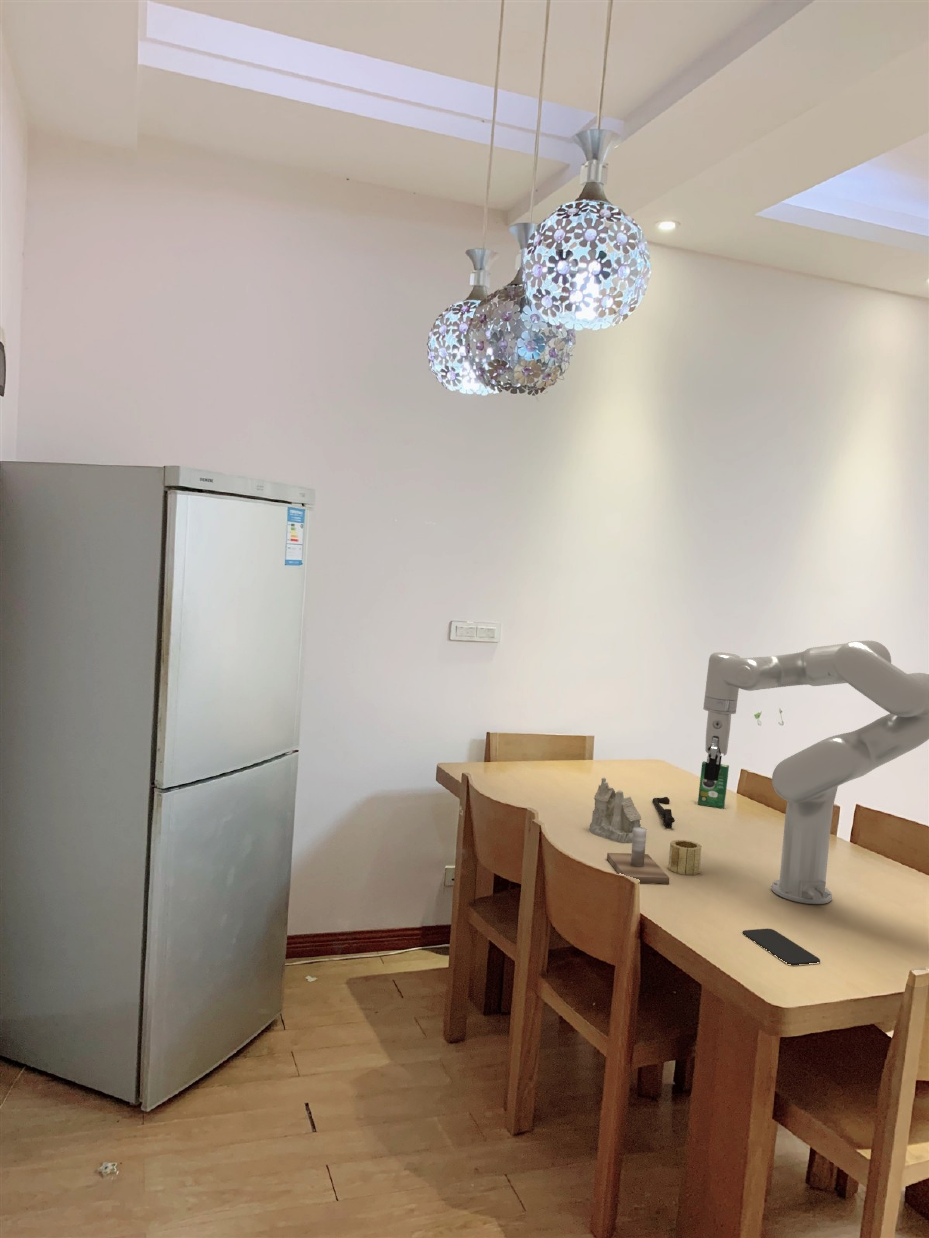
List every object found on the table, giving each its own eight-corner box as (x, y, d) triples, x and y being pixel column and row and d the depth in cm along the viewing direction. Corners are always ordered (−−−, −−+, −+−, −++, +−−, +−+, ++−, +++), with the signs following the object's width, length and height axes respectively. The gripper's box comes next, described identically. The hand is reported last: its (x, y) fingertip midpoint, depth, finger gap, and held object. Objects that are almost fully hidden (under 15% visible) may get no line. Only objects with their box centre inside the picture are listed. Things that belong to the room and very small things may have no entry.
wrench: (669, 809, 272) (684, 831, 242) (652, 809, 273) (665, 830, 243) (669, 792, 272) (684, 811, 242) (652, 791, 273) (665, 811, 243)
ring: (703, 875, 208) (705, 849, 208) (674, 874, 207) (676, 848, 207) (693, 864, 215) (695, 840, 214) (664, 863, 214) (666, 839, 214)
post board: (668, 884, 200) (672, 840, 200) (625, 882, 199) (628, 838, 199) (647, 860, 216) (650, 819, 216) (606, 858, 215) (610, 817, 215)
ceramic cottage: (619, 844, 227) (625, 785, 227) (577, 828, 240) (582, 773, 240) (663, 841, 235) (668, 784, 236) (619, 826, 249) (624, 772, 249)
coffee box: (726, 807, 271) (729, 764, 270) (724, 809, 269) (728, 766, 268) (698, 802, 274) (702, 760, 274) (697, 804, 272) (700, 762, 271)
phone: (771, 927, 178) (823, 960, 164) (771, 931, 178) (822, 965, 164) (739, 930, 176) (789, 963, 161) (739, 934, 176) (788, 968, 161)
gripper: (735, 712, 204) (726, 786, 205) (737, 701, 220) (729, 770, 222) (701, 708, 206) (693, 780, 207) (706, 697, 222) (698, 765, 224)
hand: (711, 775), depth 214 cm, fingers open, 9 cm apart
